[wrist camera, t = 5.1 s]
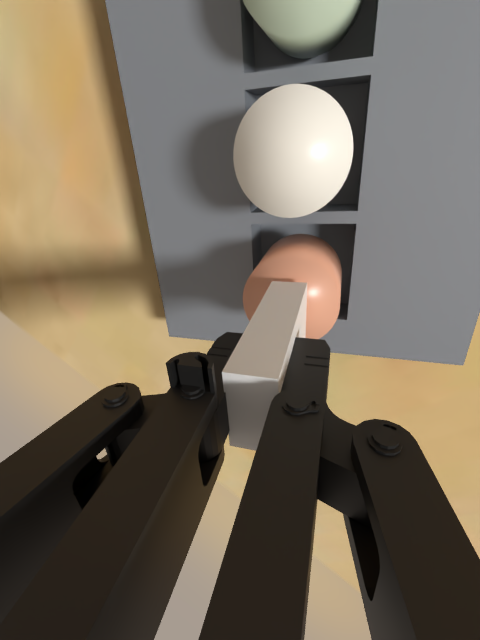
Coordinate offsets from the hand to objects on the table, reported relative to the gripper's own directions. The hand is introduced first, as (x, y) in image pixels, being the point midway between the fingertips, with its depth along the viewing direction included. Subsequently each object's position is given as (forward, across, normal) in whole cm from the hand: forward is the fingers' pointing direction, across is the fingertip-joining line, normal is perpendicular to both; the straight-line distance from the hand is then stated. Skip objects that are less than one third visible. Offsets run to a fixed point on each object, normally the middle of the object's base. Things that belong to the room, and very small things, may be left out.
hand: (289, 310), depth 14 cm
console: (+8, 0, +6) cm, 10 cm away
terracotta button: (+5, 0, 0) cm, 5 cm away
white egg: (+5, 0, +6) cm, 8 cm away
